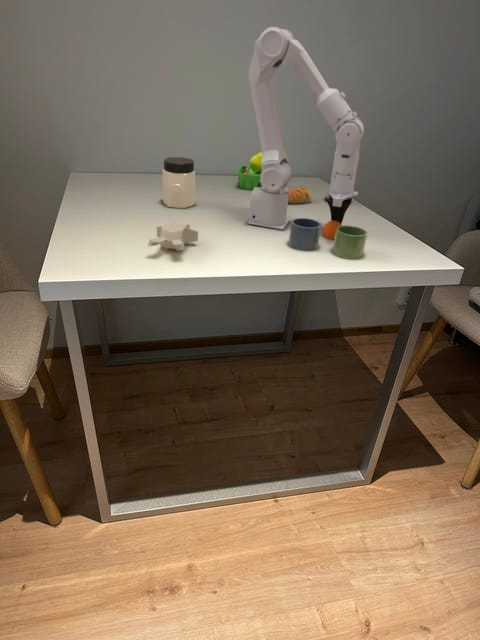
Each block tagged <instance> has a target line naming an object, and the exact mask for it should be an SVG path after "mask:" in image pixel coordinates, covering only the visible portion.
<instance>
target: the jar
mask: <svg viewBox="0 0 480 640" xmlns="http://www.w3.org/2000/svg"><path fill="white" fill-rule="evenodd" d="M194 169H195V161H194V159H191V158H188V157H181V156H171V157H166V158H164V159H163V168H162V203H163V204H165V205H166V207H168V208H175V209H186V208H191V207H193V206H195V200H196V199H195V196H196V171H195V170H194Z"/></svg>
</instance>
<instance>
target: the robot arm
mask: <svg viewBox="0 0 480 640" xmlns="http://www.w3.org/2000/svg"><path fill="white" fill-rule="evenodd" d="M281 65H285V66H288V67H289V68H290V67H291V68H293V69H295V70H296V71H297V73H298V74H299V76H301V78H302V80H303V81H304V82H305V84H306V85H307V86H308V87H309V89H310V90H311V91H312V93H313V94H314V96H315V97H316V99H317V100H316V108H317V110H318V112H319V113H320V114H321V115H322V117H323V119H324V120H325V122H326V123H327V125H328V126H329V127H330V129H331V130H332V131H334V132H335V133H334V136H335V137H334V138H335V141H336V147H335V151H334V157H333V164H332V170H331V178H330V185H329V188H328V195H329V194H330V196H331V197H329V199H328V201H327V205H328V207H329V212H330V221H338V222H339V223H341V225H343V220H344V218H345V214H346V212H347V210H348V209H349V207H350V206H351V204H352V201H353V198H352V197H358V195H359V191H355V182H356V179H357V178H356V177H357V171H358V165H359V161H360V159H359V158H360V149H361V140H362V138H363V136H364V133H365V132H364V131H365V126H364V124H363V121H362V119H361V118H359V117H357V115H358V113H357V112H356V111H353V110H352V109H351V107H350V106H349V104H348V102H347V101H346V100H345V98H346V95H345V93H344V91H339V90H338V89H337V88H331V87H329V85H328V83H327V82H326V81H325V79H324V78H323V76H322V74H321V72H320V71H319V69H318V67H317V66H316V64H315V63H314V61H313V59H311V57H310V55H309V54H308V52H307V51H306V49H305V47H304V46H303V45H302V44H301V43H300V41H299V40H298V39H296V38H295V36H294V34H293V33H292V31H290V30H289V29H286V28H279V27H277V26H270V27H267V28H266V29H264V30H263V31H262V33H261V34H260V36H259V37H258V38H257V39H256V41H255V43H254V51H253V55H252V58H251V62H250V65H249V69H248V73H247V74H248V81H249V88H250V91H251V97H252V103H253V108H254V109H253V110H254V113H255V119H256V124H257V131H258V135H259V141H260V146H261V151H262V152H263V154H262V160H261V166H262V173H261V176H260V181H259V182H260V184H261V186H259V187H258V186H257V187H255V188H254V189H252V192H251V197H250V202H249V203H250V205H249V213H248V214H249V216H248V221H247V224H248V225H253V226H259V227H265V228H270V229H277V230H284V229H285V227H286V226H287V225H288V223H289V222H290V219H289V218H287V212H288V205H289V203H288V197H289V191H290V187H289V184H288V183H289V182H290V181H291V180H292V179H293V174H294V170H293V166H292V164H290V162H289V160H288V155H287V153H286V150H285V149H284V147H283V141H282V135H281V134H282V133H281V129H280V124H279V117H278V111H277V110H278V109H277V105H276V99H275V94H274V87H273V81H272V78H273V77H274V76H275V74H276V72H277V70H278V69H279V68H280V66H281Z"/></svg>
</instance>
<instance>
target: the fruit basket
mask: <svg viewBox="0 0 480 640" xmlns="http://www.w3.org/2000/svg"><path fill="white" fill-rule="evenodd" d="M262 154H263V152H262V150H261V151H259V152H258V153H257V154H256V155H254V156H252V157H250V159H249V163H250V164H248V165H241V166H240V167H239V169H238V171H237V172H236V173H237V177H238V182H239V188H240V189H245V190H253V189H254V188H255V187H258V186H259V183H260V182H261V181H260V176H261V173H262V166H261V160H262Z"/></svg>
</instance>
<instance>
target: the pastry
mask: <svg viewBox="0 0 480 640" xmlns="http://www.w3.org/2000/svg"><path fill="white" fill-rule="evenodd" d="M310 201H312V195H311V192H310V189H308V188H307V187H296V188H291V189H289V197H288V204H290V205H294V204H297V205H298V204H307V203H310Z"/></svg>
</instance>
